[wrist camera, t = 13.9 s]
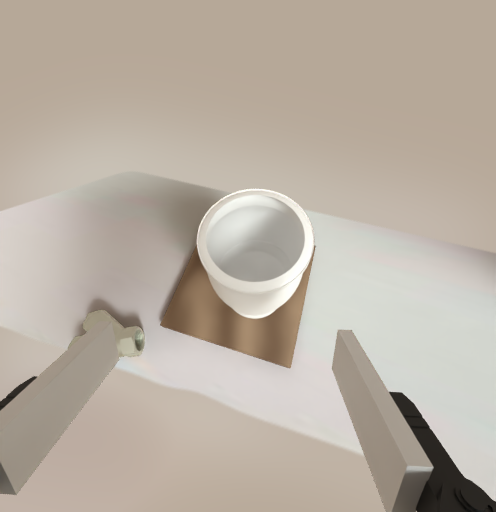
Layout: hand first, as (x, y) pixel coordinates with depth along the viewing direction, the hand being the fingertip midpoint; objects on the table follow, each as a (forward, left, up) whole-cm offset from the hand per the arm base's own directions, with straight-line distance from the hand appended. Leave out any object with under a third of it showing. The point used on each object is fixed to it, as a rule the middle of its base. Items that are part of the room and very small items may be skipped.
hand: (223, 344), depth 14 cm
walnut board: (+3, -10, -19) cm, 22 cm away
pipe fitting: (+18, +2, -20) cm, 27 cm away
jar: (+1, -9, -18) cm, 20 cm away
